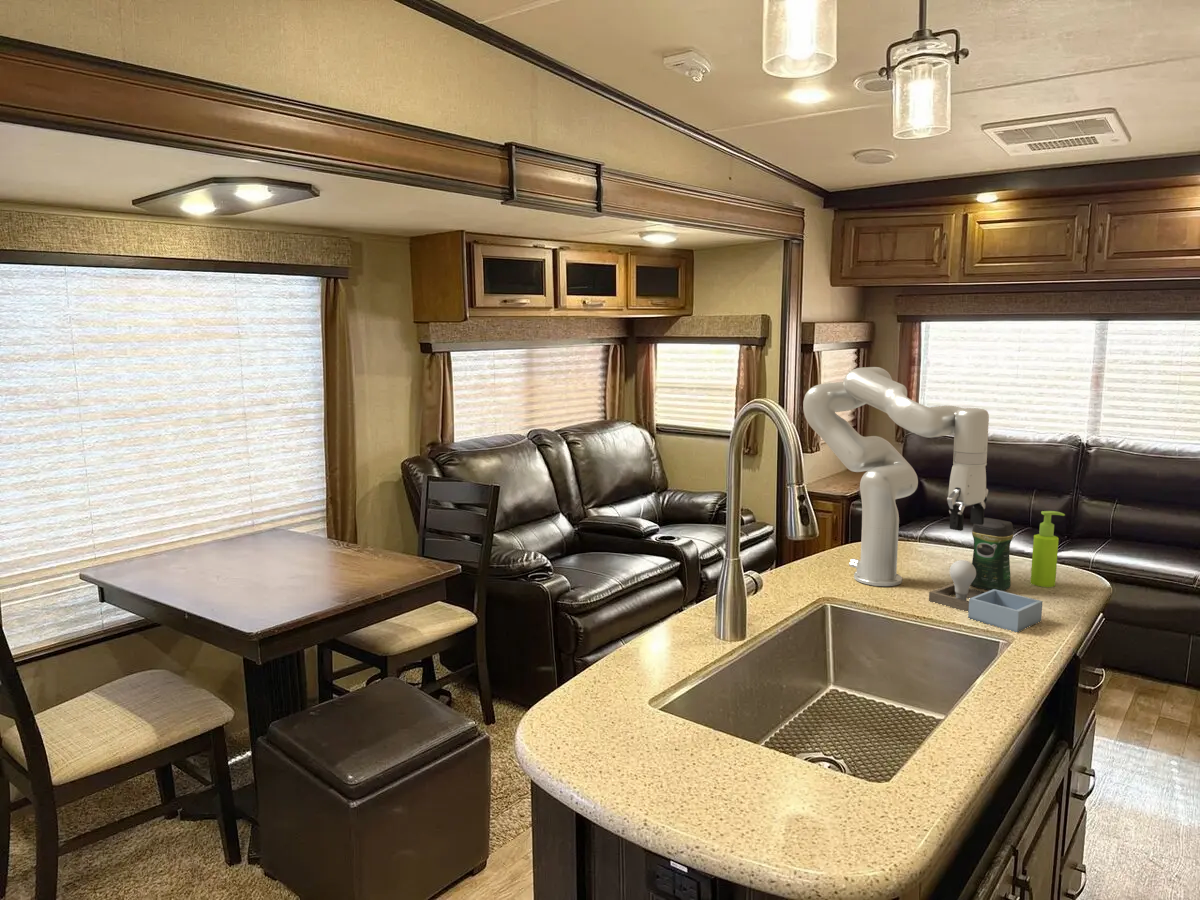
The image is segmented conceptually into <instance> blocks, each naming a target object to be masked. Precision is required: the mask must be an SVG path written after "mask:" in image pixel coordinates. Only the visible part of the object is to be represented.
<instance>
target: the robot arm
mask: <svg viewBox="0 0 1200 900" xmlns="http://www.w3.org/2000/svg"><path fill="white" fill-rule="evenodd" d="M907 389H908V388H907V387H906V385H904V384H902V383H900V382H897V381H895V380H893V379H892V376H891V374H890V373H889V371H887V370H886V369H884V368H882V367H878V366H868V367H856V368H854V369H851V370H850V371H849V372H847V374H846V375H845V376H844V378H843V382H842V381H840V382H827V383H820V384H816V385H813V386H812V387H810V388H809V389H808V390H807V391H806V393H805V394H804V398H803V401H802V405H803V407H802V409H803V414H804V418H805V420H806V422H807V423H808V425H809V427H811V429H812V430H813V431H814V432H815V433H816V434H817V435H818V437H820V438H821V439H822V441H823V442H824V443H825V444H826V445H827V447H828V448H829V449H830V450H831V451H832V452H833V454H834V455H835V456H836V457H837V458H838V460H839V461H840V462H841V463H842V464H843V465H844V467H845V468H846V469H848V471H851V472H855V473H861V472H865V473H863V475H862V477H861V478H860V482H859V493H860V498H861V510H862V511H861V539H860V540H861V541H860V542H861V543H860V559H857V558H851V559H850V562H849V567H851V568H855V569H856V571H855V572H854V574H853V578H854V580H855V581H857V582H858V583H862V584H865V585H868V586H873V587H894V586H895V587H896V586H899V585H901V584H902V582H903V577H902V576H901V575H900V574H898V573H897V570H898V568H897V567H898V549H899V546H898V545H899V526H900V525H899V524H900V517H899V516H900V515H899V510H898V507H897V504H896V500H898V499H903V498H906V497H909V496H911V495H913V494H914V493H915V492H916V491H917V489H918V485H919V479H918V475H917V473H916V471H915V469H914V468H913V466H912V465H911V464H910V463H909V462H908V461H907V459H905V457H904V456H903V455H902V454H901V453H900V452H899V451H898V450H897V449H896V447H894V446H893V444H891V442H889V441H888V440H887V439H885V438H883V437H882V436H878V435H871V436H863V435H861V434H860V433H859V432H857V430H856V429H854V427H853V426H852V425H851V423H850V422H848V421H847V420H846V419H844V418H843V417H841V416H840V415H839V414H837V413H839V412H841V413H843V412H849V411H852V410H855V409H857V408H859V407H863V406H864V405H868V406H870V407H873V408H875V409H876V410H879V411H881V412H883V413H885V414H887V416H888V417H889V418H890V419H891V420H892V421H893V422H894V423H895V424H896V425H897V426H899V427H901V428H903V429H904V430H906V431H909V432H911V433H913V434H916V435H917V436H920V437H924V438H931V439H932V438H937V437H945V436H952V435H954V436H953V437H954V438H953V457H952V458H953V459H952V460H953V461H952V464H953V465H952V467H951V471H950V476H949V482H948V483H949V485H948V493H947V498H946V502H947V504H948V505H947V508H948V512H949V513H948V514H949V530H955V531H959V532H962V531H963V530H964V518H965V516H964V515H965V514H963V513H964V510H965V508H966V507H969V506H972V507H970V519H969V520H970V521H969V522H970V524H973V525H974V524H979V525H983V524H984V518H985V509H986V502H987V500H988V498H987V497H988V494H989V489H988V488H987V472H986V471H987V470H986V469H987V468H986V466H987V465H988V463H987V461H988V460H987V458H988V444H989V443H988V442H989V441H988V439H989V424H990V423H989V421H990V416H989V415H990V414H989V412H988V411H987V409H984V408H976V407H975V408H974V407H973V408H971V407H967V408H966V407H964V408H963V407H959V406H955V405H938V406H931V407H930V406H926V405H924V404H921V403H919V402H917V401H915V400H913V399H911V398H909V397H908V390H907Z"/></svg>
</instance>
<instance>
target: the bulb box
mask: <svg viewBox="0 0 1200 900" xmlns="http://www.w3.org/2000/svg"><path fill="white" fill-rule="evenodd" d="M984 592H985V593H982V594H980V595H977V596H975V597H972V598H970V599H969V598H968V601H969V611H968V612H967V613H968V614H967V615H968V616H967V619H968V618H970V619H969V620H971V619H973V620H972V621H974V620H976V621H975V622H978V621H980V622H979V623H981V622H983V623H982V624H985V623H986V624H985V625H988V624H990V625H989V626H992V625H994V626H993V627H995V626H997V627H996V628H999V627H1000V629H1002V628H1003V630H1006V629H1007V631H1009V630H1011V631H1010V632H1013V631H1014V632H1013V633H1016V632H1018V633H1020V632H1022V631H1024V630H1026V629H1028V628H1030V627H1029V626H1031V625H1033V624H1035V625H1037V624H1039V623H1041V622H1042V617H1043V616H1042V615H1043V602H1044V601H1043V600H1040V599H1035V598H1032V597H1027V596H1023V595H1019V594H1015V593H1011V592H1009V591H1000V590H996V589H993V590H987V591H984ZM1040 621H1041V622H1040ZM1038 622H1039V623H1038ZM1036 623H1037V624H1036ZM1033 626H1034V625H1033ZM1027 627H1028V628H1027ZM1031 627H1032V626H1031ZM1025 628H1026V629H1025ZM1023 629H1024V630H1023ZM1021 630H1022V631H1021ZM1019 631H1020V632H1019Z"/></svg>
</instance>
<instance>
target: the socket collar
mask: <svg viewBox="0 0 1200 900" xmlns="http://www.w3.org/2000/svg"><path fill="white" fill-rule="evenodd" d="M985 592H986V591H984V590H983V591H982V590H979V589H976V588H975V589H974V588H971V587H969V592H968V593H967V599H969V598H972V597H975V596H977V595H980V594H982V593H985ZM953 594H955V595H953ZM950 595H951V596H950ZM929 601H930V602H929ZM928 602H929V603H933V602H935V603H934V604H936V603H938V604H937V605H940V604H942V605H941V606H944V605H946V606H945V607H947V606H950V607H949V608H951V607H952V608H951V609H954V608H956V609H955V610H958V609H960V610H959V611H961V610H964V611H963V612H965V611H969V600H963V599H959V598H956V592H955V586H954V583H950V584H947V585H945V586H942V587H940V588H939V587H938V588H936V589H933V590H931V591H929V592H928Z"/></svg>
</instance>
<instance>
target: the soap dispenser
mask: <svg viewBox="0 0 1200 900" xmlns="http://www.w3.org/2000/svg"><path fill="white" fill-rule="evenodd" d="M1040 513H1041V515H1043V521H1042V522H1040V523H1039V531H1038V532H1039V533H1037V534H1034V535H1033V540H1032V541H1033V542H1032V554H1031V555H1032V556H1031V568H1030V569H1031V571H1030V582H1029V583H1030V584H1031V585H1032V586H1037V587H1040V586H1041V588H1054V587H1055V586H1056V578H1057V577H1056V576H1057V565H1058V553H1059V551H1058V550H1059V537H1058V536H1056V535H1054V532H1055V524H1054V523H1053V522H1052V516H1062V517H1065V516H1066V514H1065V513H1064V512H1060V511H1055V510H1044V511H1043V510H1042V511H1040Z"/></svg>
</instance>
